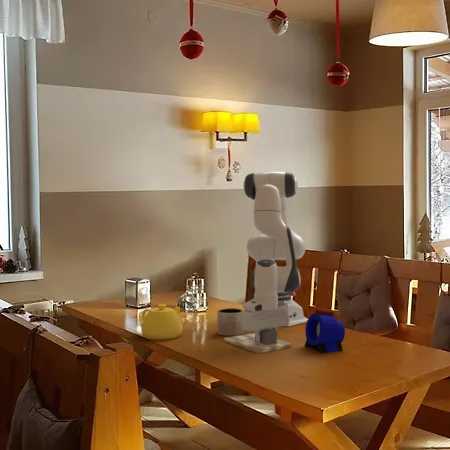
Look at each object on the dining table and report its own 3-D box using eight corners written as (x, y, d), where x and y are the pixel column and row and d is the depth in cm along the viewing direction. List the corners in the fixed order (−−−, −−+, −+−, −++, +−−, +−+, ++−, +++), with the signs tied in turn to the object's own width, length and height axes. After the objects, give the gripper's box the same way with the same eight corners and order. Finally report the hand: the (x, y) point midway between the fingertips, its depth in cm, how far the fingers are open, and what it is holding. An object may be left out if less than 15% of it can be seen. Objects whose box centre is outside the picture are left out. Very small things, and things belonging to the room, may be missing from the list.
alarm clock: (302, 346, 245) (303, 306, 244) (330, 342, 249) (331, 304, 248) (320, 353, 233) (320, 312, 232) (348, 350, 238) (349, 310, 237)
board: (257, 335, 261) (257, 332, 261) (291, 347, 242) (291, 344, 242) (223, 340, 252) (223, 337, 252) (257, 353, 234) (257, 350, 234)
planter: (249, 333, 265) (249, 310, 264) (231, 338, 257) (231, 314, 256) (229, 329, 272) (229, 306, 271) (211, 333, 264) (211, 310, 264)
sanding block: (265, 341, 247) (265, 328, 247) (276, 344, 241) (277, 331, 241) (255, 342, 244) (255, 329, 244) (266, 346, 238) (266, 333, 238)
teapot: (165, 342, 250) (165, 310, 249) (128, 336, 259) (128, 305, 259) (195, 332, 266) (195, 302, 266) (159, 327, 276) (158, 297, 276)
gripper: (282, 299, 250) (282, 334, 251) (239, 305, 239) (239, 341, 240) (292, 302, 245) (292, 338, 246) (249, 307, 233) (248, 345, 234)
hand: (265, 340), depth 243 cm, fingers closed on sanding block, 5 cm apart
